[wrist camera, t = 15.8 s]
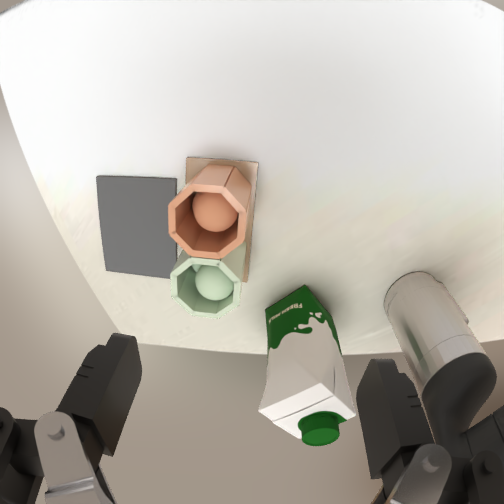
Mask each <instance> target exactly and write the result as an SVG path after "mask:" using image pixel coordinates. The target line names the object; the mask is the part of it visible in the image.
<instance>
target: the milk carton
mask: <svg viewBox="0 0 504 504" xmlns="http://www.w3.org/2000/svg"><path fill="white" fill-rule="evenodd" d="M265 313H266V325H267V336H268V351H267V384H266V387H265V390H264V393H263V396H262V400H261V403H260V406H259V409H258V411H259V412H260V413H262V414H263V415H265V416H266V417H268V418H269V419H271V420H272V422H273V423H274V424H275V425H277V426H279V427H281V428H283V429H284V430H286V431H287V432H289V433H290V434H292V435H294V436H295V437H297V438H299V439H300V438H302V441H303V442H304V443H305V444H307V445H310V446H323V445H327V444H330V443H332V442H334V441H336V440H337V439H338V437H339V434H340V433H339V426H338V424H339V423H342V422H344V421H347V419H349V418H352V417H354V416H356V412H355V408H354V404H353V401H352V397H351V393H350V389H349V385H348V381H347V377H346V372H345V367H344V363H343V358H342V353H341V349H340V345H339V340H338V336H337V332H336V328H335V325H334V322H333V319H332V316H331V315H330V314H329V313H328V312H327V310H326V309H325V308H324V307H323V306H322V304H321V303H320V302H319V301H318V300H317V298H316V297H315V296H314V295H313V294H312V293H311V291H310V290H309V289H308V288H307V287H306V285H304V286H303V287H301V288H299V289H298V290H296V291H295V292H293V293H291V294H290V295H288V296H287V297H285V298H283V299H282V300H280V301H279V302H277V303H275V304H274V305H272V306H271V307H269V308H267V309H266V310H265Z"/></svg>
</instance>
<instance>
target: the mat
mask: <svg viewBox="0 0 504 504" xmlns="http://www.w3.org/2000/svg"><path fill="white" fill-rule="evenodd" d="M96 182H97V196H98V208H99V219H100V228H101V237H102V245H103V253H104V260H105V267H106V271H112V272H119V273H127V274H135V275H143V276H151V277H159V278H167V279H170V274H171V272H172V270H173V268H174V266H175V264H176V262H177V242H176V241H175V240H174V239H173V238H172V237H171V236H170V234H169V226H168V205H169V203H170V202H171V201H172V200H173V199H174V198H175V196H176V188H177V179H172V178H152V177H126V176H97V177H96Z"/></svg>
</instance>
